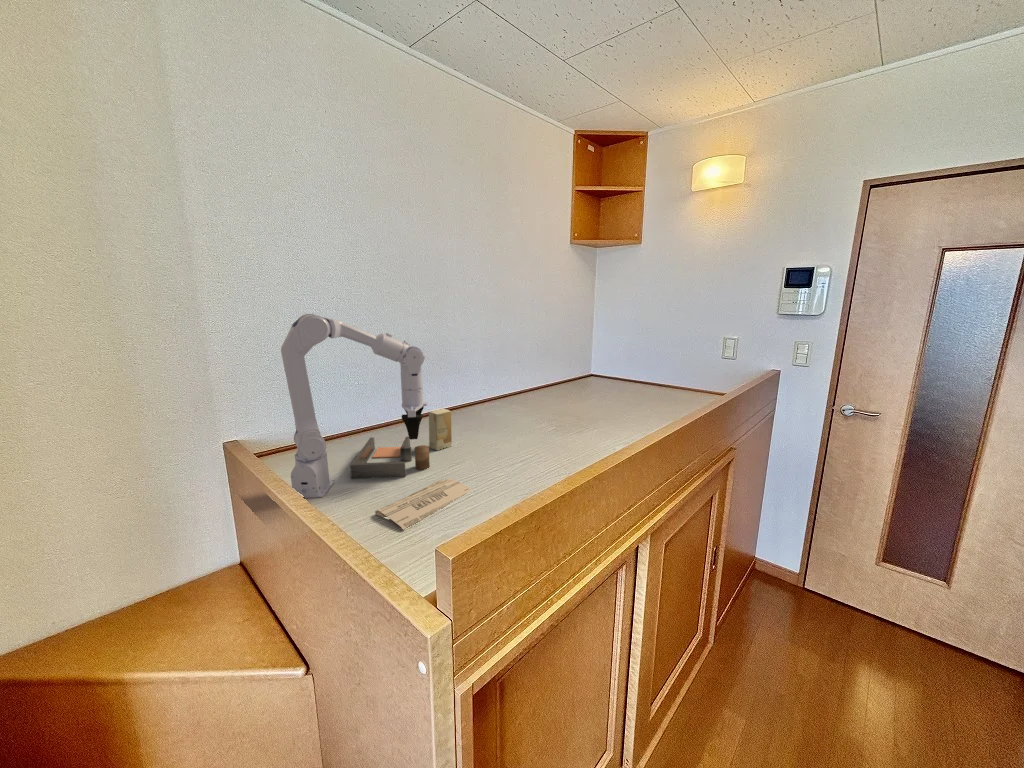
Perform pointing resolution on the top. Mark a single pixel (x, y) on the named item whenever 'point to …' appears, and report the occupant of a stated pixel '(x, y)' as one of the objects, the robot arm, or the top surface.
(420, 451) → the brown cylinder
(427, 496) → the newspaper
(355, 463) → the rail channel
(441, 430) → the skincare box
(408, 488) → the top surface
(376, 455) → the pad
